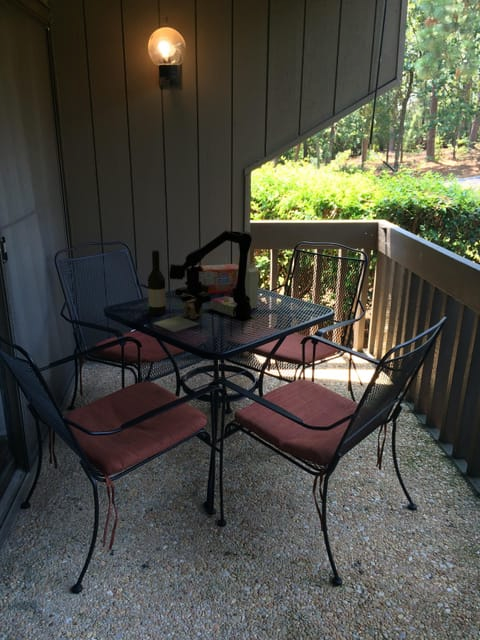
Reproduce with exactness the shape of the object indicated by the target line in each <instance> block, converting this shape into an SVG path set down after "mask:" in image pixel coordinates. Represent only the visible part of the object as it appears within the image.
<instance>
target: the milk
mask: <svg viewBox="0 0 480 640" xmlns="http://www.w3.org/2000/svg"><path fill="white" fill-rule="evenodd" d="M255 265H256V264H255V263H254V262H253V263H247V268H246V278H245V286H246V295H247V296H248V297H249V298H250V306H251V310H253V309H252V308H255V309H257V308H258V302H259V300H258V299H259V297H258V296H259V295H258V294H259V273H260V272H259V269H258V268H257V267H256V266H255ZM256 307H257V308H256Z"/></svg>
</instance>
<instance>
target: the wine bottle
mask: <svg viewBox="0 0 480 640" xmlns="http://www.w3.org/2000/svg"><path fill="white" fill-rule="evenodd" d="M151 262H152V264H151V265H152V269H151V272H150V273H149V275H148V277H147V289H148V290H147V291H148V292H147V293H148V294H147V295H148V296H147V297H148V314H150V316H153V317H155V316H159V317H160V316H163V315H166V314H167V310H166V309H167V308H166V305H167V304H166V303H167V302H166V278H165V276H164V274H163V273H162V272H161V270H160V266H161V265H160V251H159V249H152V251H151Z"/></svg>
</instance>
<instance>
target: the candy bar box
mask: <svg viewBox="0 0 480 640" xmlns="http://www.w3.org/2000/svg"><path fill="white" fill-rule="evenodd" d="M236 307H237V303H235V302H234V300H233V297H232V296H231V297H230V296H227V295H224V296H221V297H216V298H211V301H209V309H210V310H212V311H216V312H218V313H221V314H224V315H227V316H231V317H233V318H234V317H235V316H236Z"/></svg>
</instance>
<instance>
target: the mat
mask: <svg viewBox="0 0 480 640" xmlns="http://www.w3.org/2000/svg"><path fill="white" fill-rule="evenodd" d="M152 325H155V326H157V327H160V328H162V329H164V330H167V331H170V332H172V333H176V332H180V331H183V330H186V329H188V328H189V329H190V328H191V327H195V326H199V323H198V322H196V321H192V319H191V320H190V319H187V318H186V317H185V318H184V317H182V316H179V315H176V316H173V317H169V318H166V319H162V320H159V321H156V322H153V324H152Z"/></svg>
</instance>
